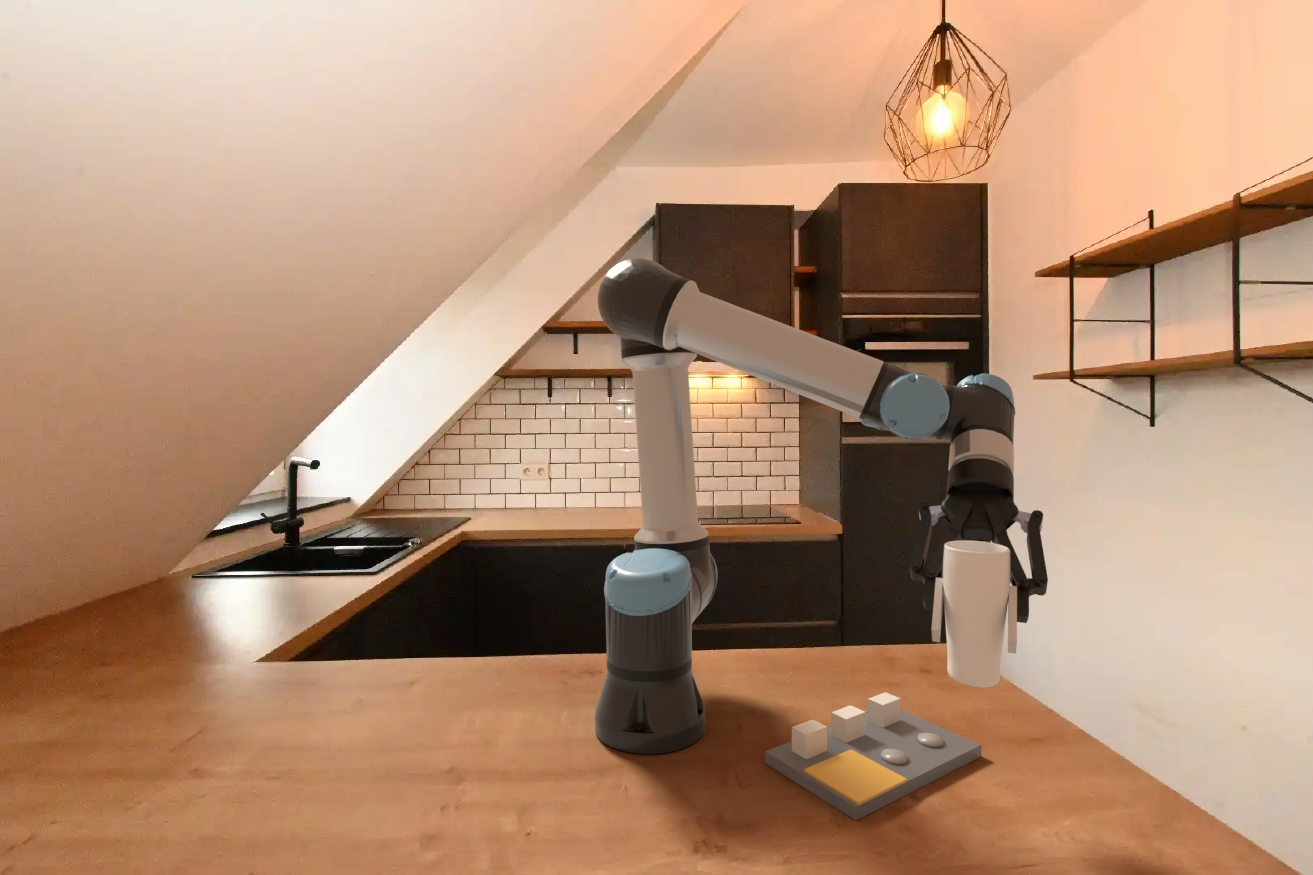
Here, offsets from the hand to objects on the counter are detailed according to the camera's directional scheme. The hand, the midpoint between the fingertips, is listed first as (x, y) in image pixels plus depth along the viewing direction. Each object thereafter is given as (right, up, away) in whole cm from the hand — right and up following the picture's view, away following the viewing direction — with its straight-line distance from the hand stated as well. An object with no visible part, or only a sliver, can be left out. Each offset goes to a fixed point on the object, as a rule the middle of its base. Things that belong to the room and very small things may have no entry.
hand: (973, 641), depth 72 cm
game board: (-7, -18, +11) cm, 23 cm away
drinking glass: (+2, -6, +3) cm, 7 cm away
